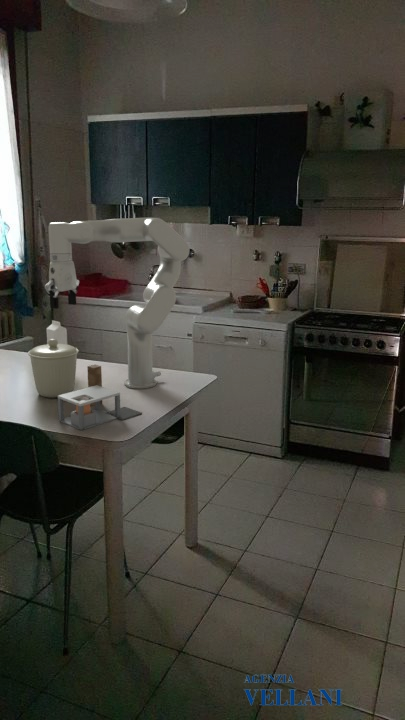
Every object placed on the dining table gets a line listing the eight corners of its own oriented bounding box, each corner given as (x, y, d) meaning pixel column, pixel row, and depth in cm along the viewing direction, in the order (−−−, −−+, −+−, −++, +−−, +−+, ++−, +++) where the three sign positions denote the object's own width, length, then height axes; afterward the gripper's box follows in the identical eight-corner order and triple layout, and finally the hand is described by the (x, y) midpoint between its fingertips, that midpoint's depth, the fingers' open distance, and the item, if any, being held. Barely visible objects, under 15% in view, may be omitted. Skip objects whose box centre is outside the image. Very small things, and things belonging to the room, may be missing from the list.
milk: (56, 375, 244) (53, 323, 238) (48, 372, 248) (45, 321, 242) (69, 372, 248) (66, 321, 242) (60, 369, 252) (57, 319, 246)
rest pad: (124, 407, 205) (124, 406, 205) (142, 413, 199) (142, 412, 199) (104, 414, 199) (104, 412, 199) (121, 420, 193) (121, 419, 193)
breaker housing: (97, 409, 203) (96, 385, 201) (120, 417, 196) (119, 392, 193) (59, 421, 192) (57, 395, 189) (81, 430, 184) (80, 403, 182)
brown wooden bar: (96, 401, 211) (95, 364, 207) (102, 403, 209) (101, 366, 205) (88, 404, 208) (87, 366, 205) (94, 406, 206) (93, 368, 203)
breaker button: (84, 411, 191) (83, 399, 190) (90, 413, 189) (90, 401, 188) (76, 413, 188) (75, 401, 187) (82, 416, 186) (81, 403, 185)
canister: (62, 404, 208) (60, 346, 203) (20, 398, 214) (16, 341, 209) (89, 389, 225) (87, 336, 219) (49, 384, 231) (46, 332, 225)
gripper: (52, 260, 197) (55, 310, 201) (85, 257, 212) (87, 303, 216) (35, 259, 200) (38, 309, 205) (68, 256, 215) (70, 302, 220)
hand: (63, 306), depth 211 cm, fingers open, 9 cm apart
